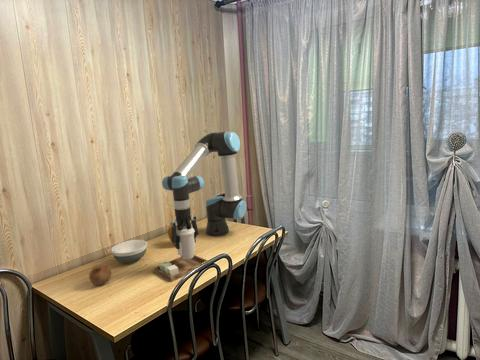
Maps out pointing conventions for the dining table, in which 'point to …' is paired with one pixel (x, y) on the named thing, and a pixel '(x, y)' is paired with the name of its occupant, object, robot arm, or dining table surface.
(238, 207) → the robot arm
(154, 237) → the dining table surface
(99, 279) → the onion
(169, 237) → the amber vase
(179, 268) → the tray
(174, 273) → the cream block
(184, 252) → the coffee cup
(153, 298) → the dining table surface
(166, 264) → the sage block
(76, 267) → the dining table surface
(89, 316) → the dining table surface
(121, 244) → the bowl
